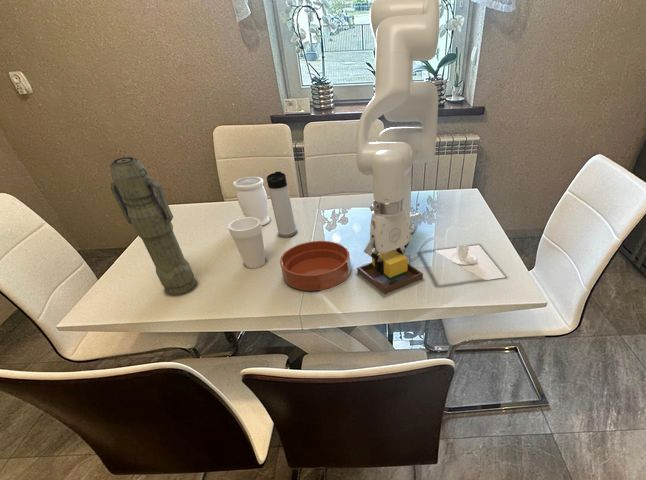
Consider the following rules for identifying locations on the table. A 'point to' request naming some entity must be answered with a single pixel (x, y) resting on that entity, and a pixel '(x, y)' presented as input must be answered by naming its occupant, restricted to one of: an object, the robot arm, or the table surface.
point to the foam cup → (249, 240)
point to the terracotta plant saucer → (315, 265)
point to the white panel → (473, 261)
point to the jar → (252, 198)
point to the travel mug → (281, 204)
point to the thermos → (151, 223)
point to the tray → (383, 282)
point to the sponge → (393, 264)
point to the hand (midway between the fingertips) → (389, 267)
